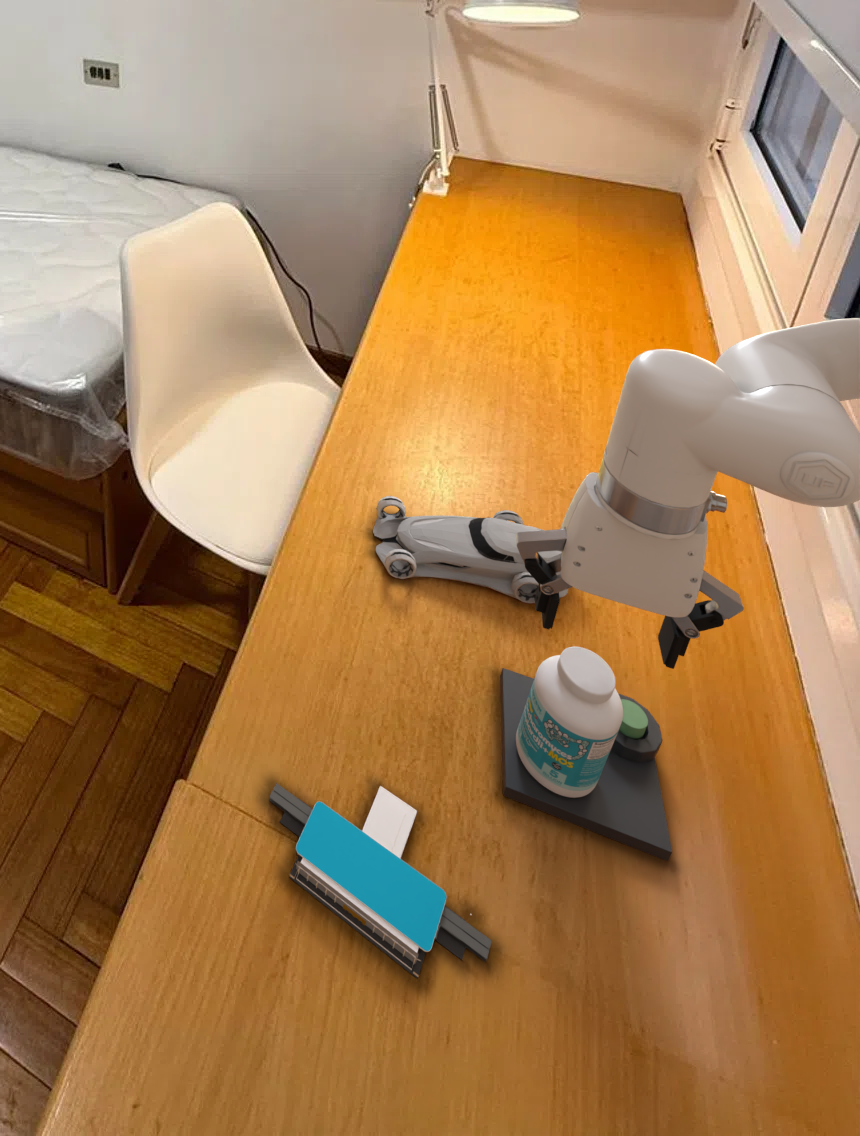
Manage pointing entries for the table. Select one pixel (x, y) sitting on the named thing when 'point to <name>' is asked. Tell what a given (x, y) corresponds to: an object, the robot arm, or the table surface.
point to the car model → (457, 549)
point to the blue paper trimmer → (374, 879)
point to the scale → (621, 795)
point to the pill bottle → (570, 722)
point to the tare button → (633, 720)
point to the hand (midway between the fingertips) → (604, 634)
